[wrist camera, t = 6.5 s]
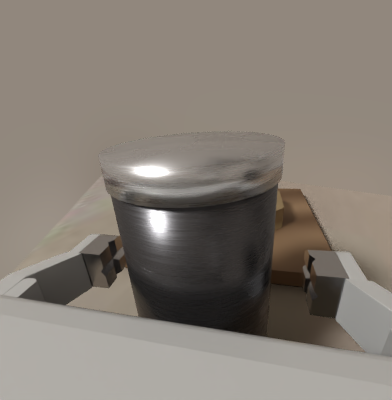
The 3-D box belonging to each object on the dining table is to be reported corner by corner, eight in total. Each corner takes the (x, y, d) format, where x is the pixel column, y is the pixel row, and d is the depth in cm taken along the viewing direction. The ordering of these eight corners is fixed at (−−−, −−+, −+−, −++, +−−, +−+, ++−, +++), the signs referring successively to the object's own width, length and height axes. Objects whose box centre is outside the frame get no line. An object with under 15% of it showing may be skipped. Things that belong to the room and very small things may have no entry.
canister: (218, 298, 16) (211, 128, 11) (292, 375, 11) (327, 138, 7) (134, 346, 13) (84, 147, 9) (187, 475, 8) (134, 184, 4)
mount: (180, 194, 33) (178, 173, 32) (299, 197, 30) (302, 173, 28) (125, 267, 19) (117, 234, 18) (341, 290, 15) (350, 251, 14)
